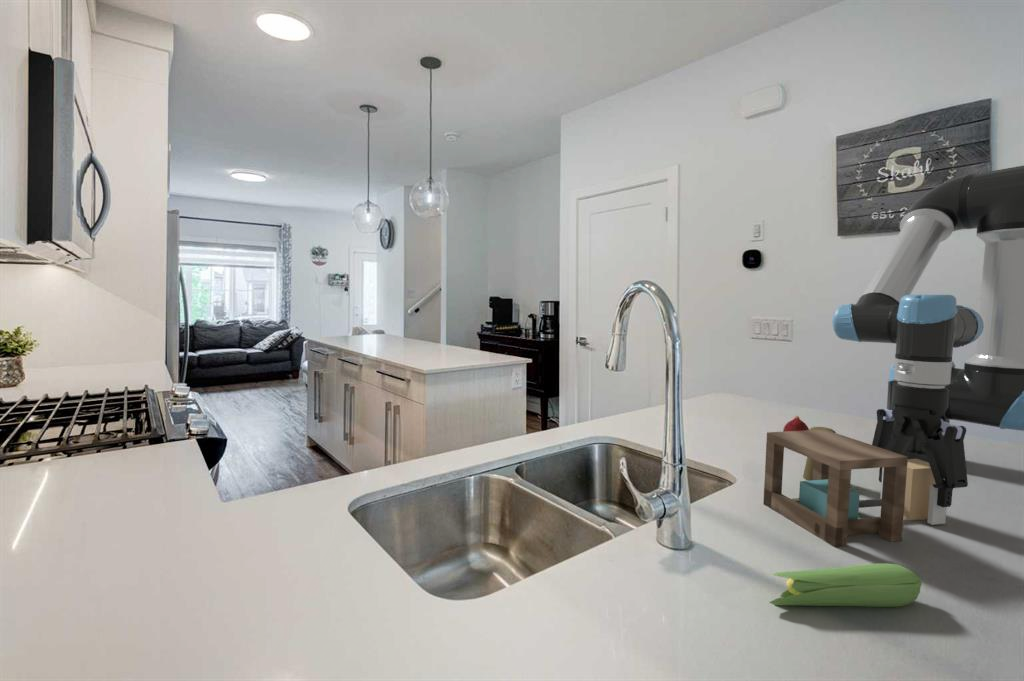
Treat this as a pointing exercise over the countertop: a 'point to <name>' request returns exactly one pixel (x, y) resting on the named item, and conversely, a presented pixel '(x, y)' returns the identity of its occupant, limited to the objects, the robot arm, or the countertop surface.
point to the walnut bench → (836, 484)
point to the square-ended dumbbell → (914, 506)
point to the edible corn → (851, 586)
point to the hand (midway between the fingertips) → (911, 511)
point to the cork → (809, 462)
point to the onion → (795, 425)
